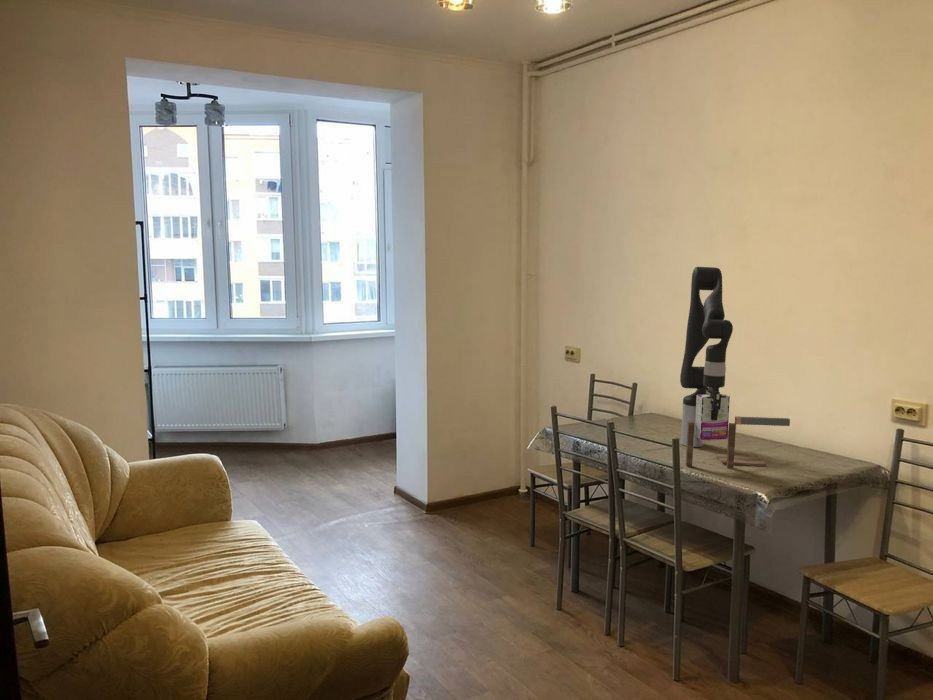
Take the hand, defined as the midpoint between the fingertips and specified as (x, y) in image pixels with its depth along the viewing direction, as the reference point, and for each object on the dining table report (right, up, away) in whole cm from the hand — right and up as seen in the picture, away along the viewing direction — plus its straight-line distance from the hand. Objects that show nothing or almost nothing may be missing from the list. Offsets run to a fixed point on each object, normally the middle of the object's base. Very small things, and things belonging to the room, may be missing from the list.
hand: (711, 418), depth 264 cm
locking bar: (+18, -2, -2) cm, 18 cm away
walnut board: (+15, -18, +11) cm, 25 cm away
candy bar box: (0, -8, +1) cm, 8 cm away
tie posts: (0, -19, +2) cm, 19 cm away
